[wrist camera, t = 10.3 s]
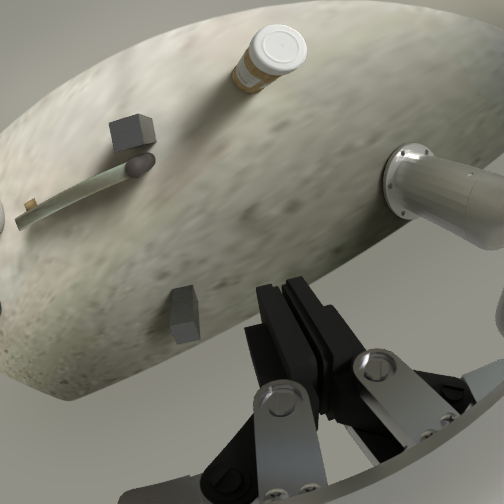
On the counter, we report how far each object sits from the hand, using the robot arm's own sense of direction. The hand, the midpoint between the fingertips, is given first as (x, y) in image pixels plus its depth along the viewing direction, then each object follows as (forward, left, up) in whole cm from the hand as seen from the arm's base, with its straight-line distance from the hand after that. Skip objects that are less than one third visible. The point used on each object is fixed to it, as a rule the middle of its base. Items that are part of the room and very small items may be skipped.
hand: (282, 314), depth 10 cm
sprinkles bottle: (-6, -13, -27) cm, 31 cm away
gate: (+16, -5, -27) cm, 31 cm away
